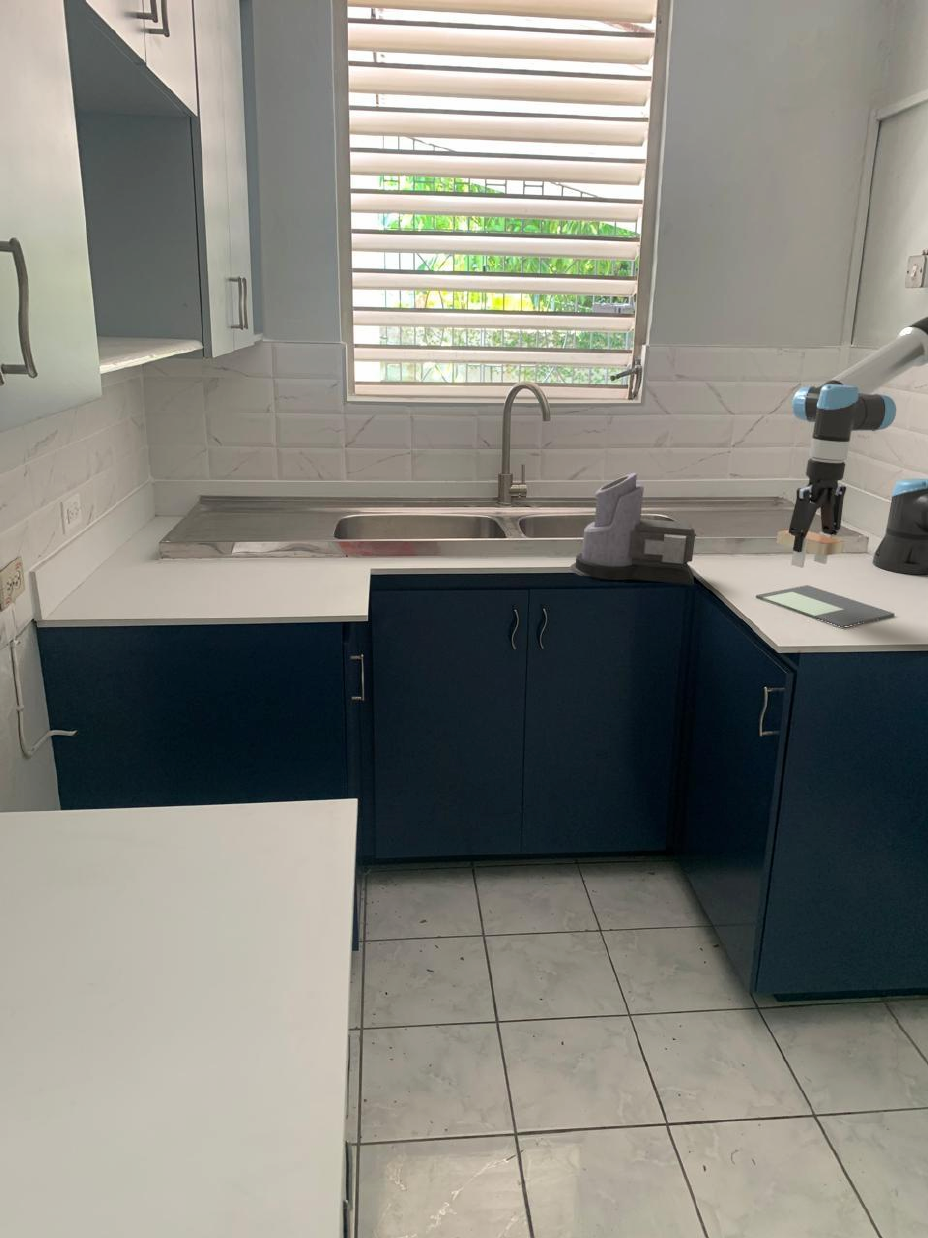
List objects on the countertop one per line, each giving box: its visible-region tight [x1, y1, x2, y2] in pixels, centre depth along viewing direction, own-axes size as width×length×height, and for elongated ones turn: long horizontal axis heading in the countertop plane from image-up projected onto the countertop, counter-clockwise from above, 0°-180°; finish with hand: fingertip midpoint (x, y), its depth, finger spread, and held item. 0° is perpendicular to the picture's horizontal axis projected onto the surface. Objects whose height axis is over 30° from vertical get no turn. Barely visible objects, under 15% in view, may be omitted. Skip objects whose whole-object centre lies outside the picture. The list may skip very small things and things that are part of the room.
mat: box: [755, 584, 895, 627], centre depth 208 cm, size 18×23×1 cm
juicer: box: [569, 472, 696, 586], centre depth 225 cm, size 30×16×24 cm, turn 79°
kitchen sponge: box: [776, 529, 846, 556], centre depth 204 cm, size 7×3×12 cm
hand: (808, 563), depth 205 cm, fingers closed on kitchen sponge, 7 cm apart
